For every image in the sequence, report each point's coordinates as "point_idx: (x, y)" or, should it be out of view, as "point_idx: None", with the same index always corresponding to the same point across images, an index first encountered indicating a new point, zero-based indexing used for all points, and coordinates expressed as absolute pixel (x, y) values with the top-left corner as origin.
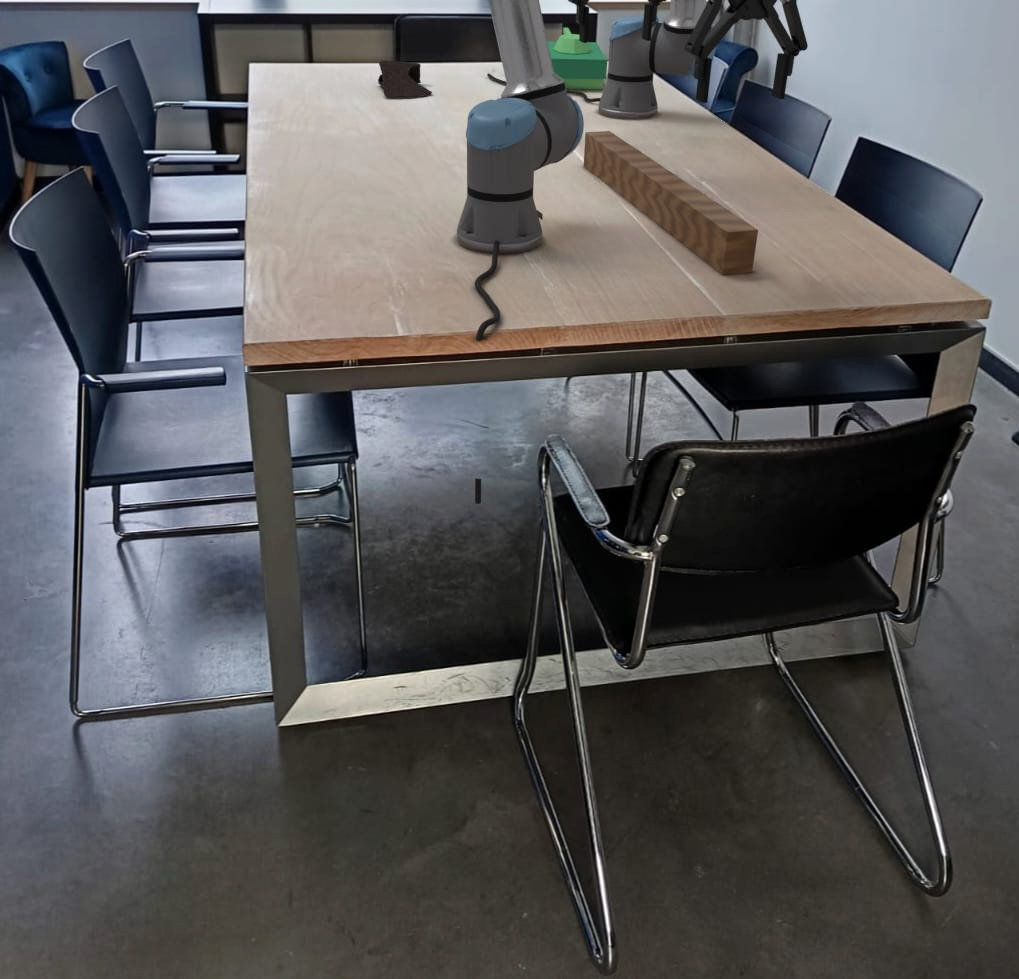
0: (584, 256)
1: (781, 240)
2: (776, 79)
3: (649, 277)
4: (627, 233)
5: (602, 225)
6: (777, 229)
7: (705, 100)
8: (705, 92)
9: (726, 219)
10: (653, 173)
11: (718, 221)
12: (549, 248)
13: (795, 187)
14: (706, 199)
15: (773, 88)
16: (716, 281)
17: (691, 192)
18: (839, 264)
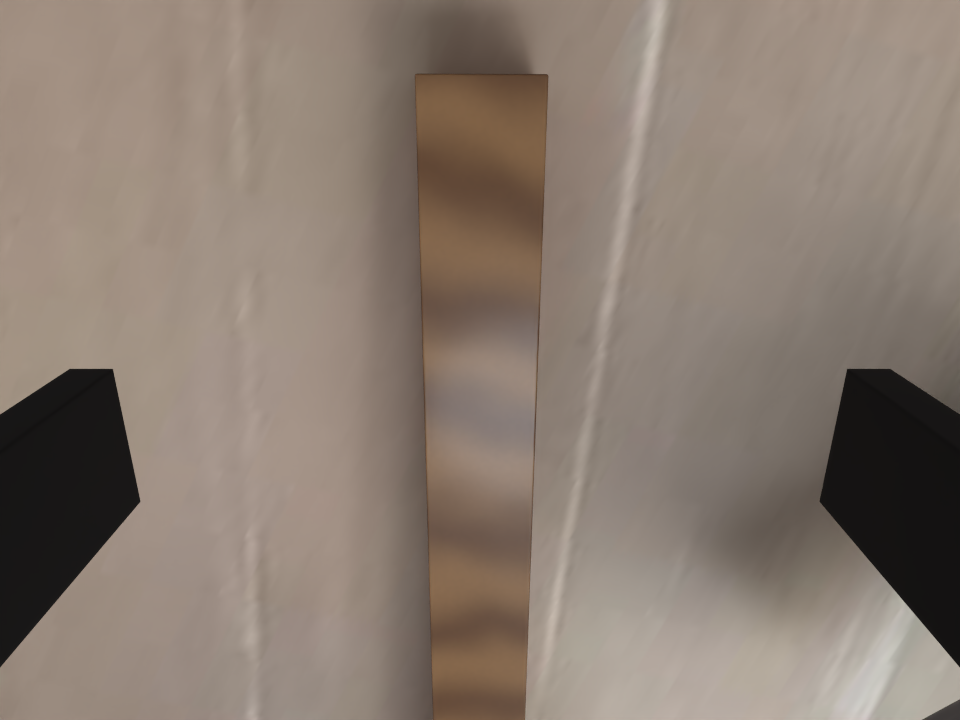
0: (856, 338)
1: (212, 330)
2: (48, 555)
3: (769, 119)
4: (638, 482)
5: (674, 552)
6: (186, 419)
7: (881, 375)
8: (931, 409)
9: (480, 223)
10: (496, 708)
11: (521, 208)
12: None
13: (3, 709)
14: (447, 447)
15: (106, 530)
16: (582, 27)
17: (463, 523)
18: (104, 76)
